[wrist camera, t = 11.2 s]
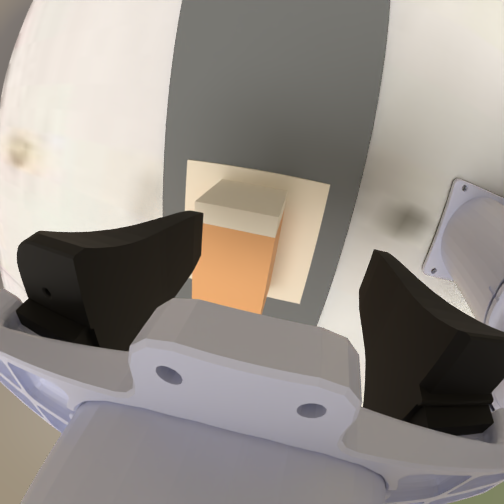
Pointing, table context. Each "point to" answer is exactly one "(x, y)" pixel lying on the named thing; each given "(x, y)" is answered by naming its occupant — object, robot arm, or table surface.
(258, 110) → the mat
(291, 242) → the pad
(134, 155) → the table surface
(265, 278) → the card box
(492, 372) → the robot arm
